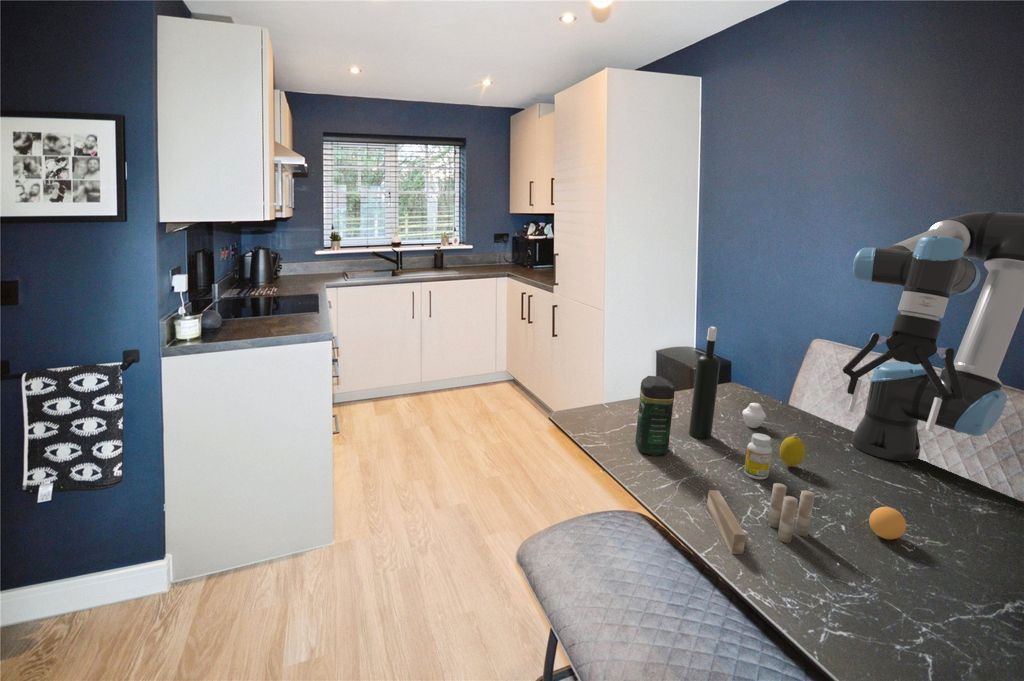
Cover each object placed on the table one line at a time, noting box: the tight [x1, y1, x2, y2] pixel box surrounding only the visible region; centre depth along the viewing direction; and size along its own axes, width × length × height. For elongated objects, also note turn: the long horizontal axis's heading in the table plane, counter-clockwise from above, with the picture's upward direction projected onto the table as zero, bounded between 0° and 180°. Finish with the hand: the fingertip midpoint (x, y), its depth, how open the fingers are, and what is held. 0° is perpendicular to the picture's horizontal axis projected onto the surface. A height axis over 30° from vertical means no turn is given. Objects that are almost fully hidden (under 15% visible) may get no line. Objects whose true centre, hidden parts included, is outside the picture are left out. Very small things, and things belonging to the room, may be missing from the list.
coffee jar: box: [634, 375, 676, 456], centre depth 147 cm, size 10×8×19 cm
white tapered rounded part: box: [741, 402, 767, 429], centre depth 165 cm, size 6×6×7 cm
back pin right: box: [766, 482, 788, 529], centre depth 116 cm, size 2×2×8 cm
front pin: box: [793, 489, 816, 537], centre depth 113 cm, size 2×2×8 cm
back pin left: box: [776, 495, 799, 544], centre depth 111 cm, size 2×2×8 cm
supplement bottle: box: [743, 432, 773, 480], centre depth 136 cm, size 5×5×10 cm
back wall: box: [706, 489, 747, 555], centre depth 114 cm, size 2×16×4 cm, turn 178°
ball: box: [868, 506, 907, 540], centre depth 113 cm, size 6×6×6 cm
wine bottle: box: [688, 325, 721, 440], centre depth 155 cm, size 6×6×30 cm
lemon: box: [779, 435, 806, 467], centre depth 141 cm, size 6×6×8 cm
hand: (888, 420), depth 117 cm, fingers open, 13 cm apart
